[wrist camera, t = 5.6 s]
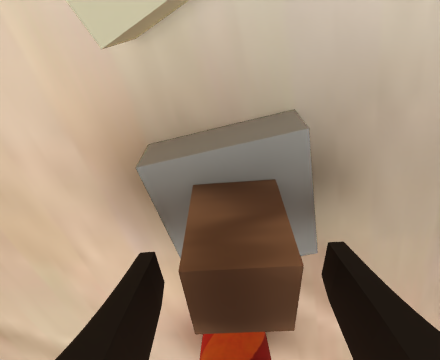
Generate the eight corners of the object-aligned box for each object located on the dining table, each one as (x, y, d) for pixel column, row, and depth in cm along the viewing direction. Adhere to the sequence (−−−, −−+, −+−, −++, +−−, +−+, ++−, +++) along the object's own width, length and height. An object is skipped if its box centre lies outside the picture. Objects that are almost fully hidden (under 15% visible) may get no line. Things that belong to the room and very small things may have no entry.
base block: (292, 106, 13) (309, 128, 11) (304, 219, 18) (317, 253, 15) (150, 141, 15) (135, 167, 12) (192, 239, 19) (188, 274, 16)
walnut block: (275, 179, 12) (303, 265, 8) (273, 238, 14) (294, 330, 10) (192, 184, 13) (178, 271, 8) (202, 242, 15) (195, 334, 11)
